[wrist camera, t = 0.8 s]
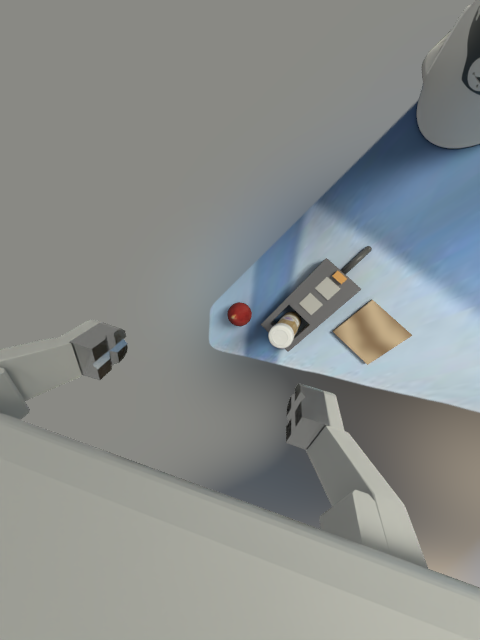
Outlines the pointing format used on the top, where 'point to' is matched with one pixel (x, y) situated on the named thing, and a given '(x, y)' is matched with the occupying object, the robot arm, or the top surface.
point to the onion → (239, 314)
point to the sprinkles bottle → (284, 330)
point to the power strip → (319, 296)
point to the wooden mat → (371, 332)
